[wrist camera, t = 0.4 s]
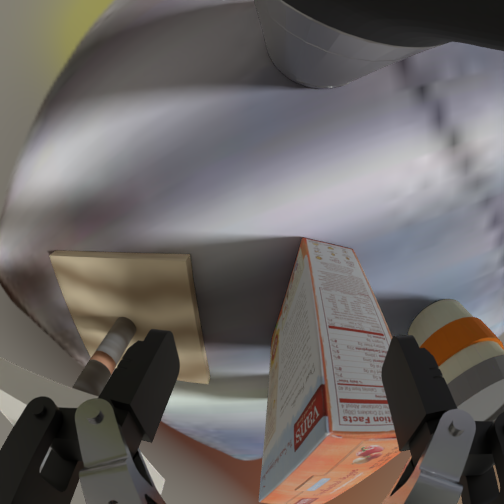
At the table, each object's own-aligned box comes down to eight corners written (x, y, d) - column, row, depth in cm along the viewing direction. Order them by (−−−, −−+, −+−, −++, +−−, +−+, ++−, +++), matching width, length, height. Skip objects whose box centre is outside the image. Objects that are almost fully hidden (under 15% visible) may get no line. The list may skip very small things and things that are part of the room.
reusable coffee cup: (387, 364, 35) (410, 456, 22) (404, 292, 30) (453, 394, 17) (459, 351, 34) (494, 427, 20) (484, 281, 28) (543, 359, 15)
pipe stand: (55, 250, 33) (-74, 378, 10) (189, 254, 31) (61, 495, 7) (97, 357, 42) (29, 480, 18) (210, 376, 40) (166, 542, 16)
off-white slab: (-21, 345, 17) (-37, 363, 15) (101, 397, 15) (84, 431, 13) (51, 437, 25) (43, 453, 22) (165, 480, 23) (158, 501, 20)
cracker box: (316, 345, 35) (324, 507, 16) (269, 337, 35) (252, 503, 16) (358, 247, 28) (431, 436, 10) (301, 233, 28) (319, 438, 10)
